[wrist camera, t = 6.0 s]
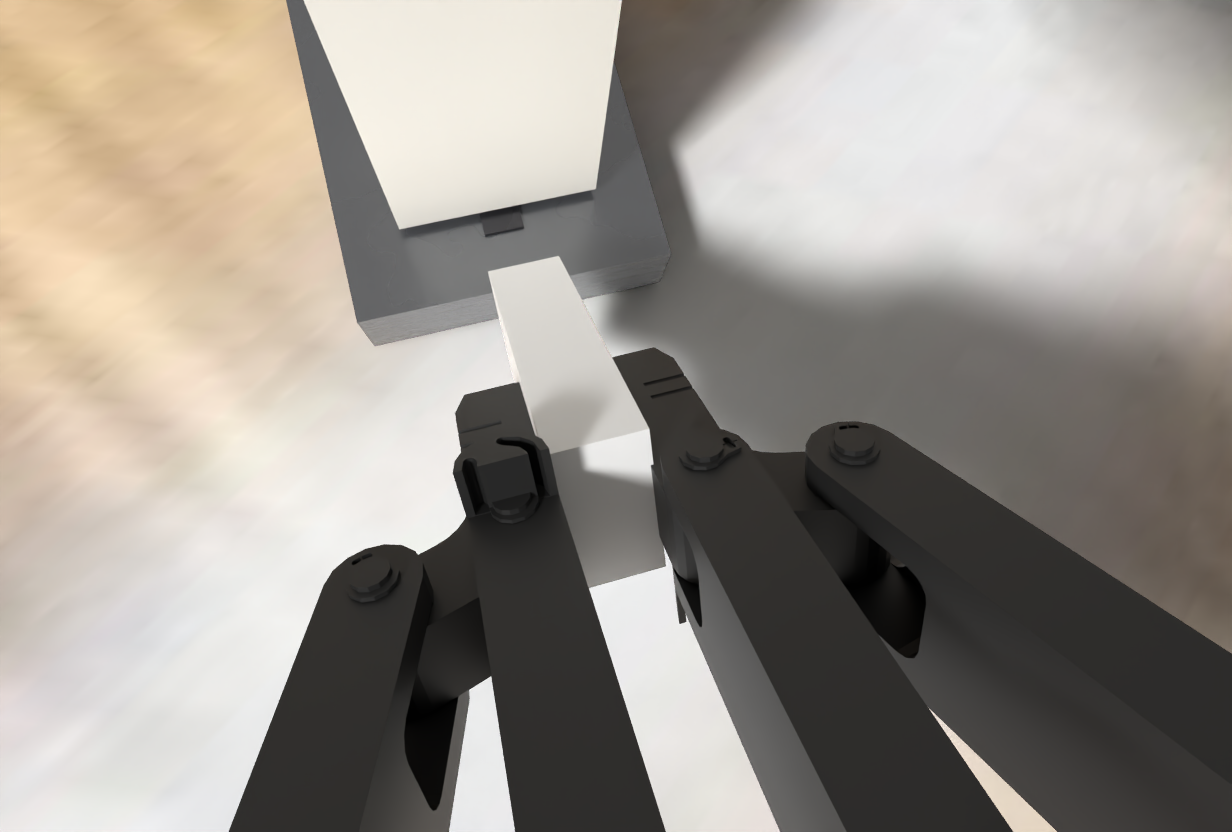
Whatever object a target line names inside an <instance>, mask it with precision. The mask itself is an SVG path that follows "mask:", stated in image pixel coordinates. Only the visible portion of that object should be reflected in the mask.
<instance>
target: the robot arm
mask: <svg viewBox="0 0 1232 832" xmlns="http://www.w3.org/2000/svg"><path fill="white" fill-rule="evenodd" d="M488 274H489V278H490V283H491V287H492V291H493V295H494V300H495V304H496V308H497V312H498V317H499V321H500V325H501V329H502V334H503V338H504V342H505V347H506V351H507V355H508V359H509V364H510V368H511V372H512V376H513V381H514V383H512V384H508V385H504V386H500V387H495V388H491V389H487V390H483V391H479V392H475V393H470V394H466V395H464V397H463V399H462V401H461V403H460V405H459V407H458V409H457V411H456V413H455V415H456V422H457V428H458V433H459V441H460V446H461V454H460V455H459V456H458V458H457V459H456V460H455V463H454V469H453V475H454V478H455V481H456V484H457V488H458V491H459V494H460V497H461V500H462V504H463V507H464V510H465V513H466V518H465V520H464V521H463V523H462V524H461V525H460V527H459V528H458V529H457V530H456V531H455V532H454V533H453V534H452V535H451V536H450V537H448V538H447V539H446V540H444V541H442V542H441V543H439V544H438V545H436V546H434V547H432V548H431V549H429V550H427V551H425V552H423V553H421V554H419V555H418V554H417V553H416V552H415V551H414V550H411V549H409V548H407V547H405V546H402V545H385V544H384V545H380V546H376V547H372V548H368V549H365V550H363V551H361V552H359V553H357V554H355V555H353V556H351V557H349V558H347V559H346V560H345V561H344V562H343V563H341V564H340V565H339V566H338V567H337V568H336V569H334V570H333V571H332V573H331V575H330V576H329V578H328V579H327V581H326V583H325V584H324V586H323V589H322V591H321V594H320V596H319V599H318V602H317V604H316V607H315V609H314V612H313V614H312V617H311V620H310V622H309V625H308V627H307V630H306V633H305V635H304V638H303V640H302V643H301V646H300V648H299V651H298V653H297V656H296V659H295V661H294V664H293V666H292V669H291V672H290V674H289V677H288V679H287V682H286V685H285V687H284V690H283V692H282V695H281V697H280V700H279V703H278V705H277V708H276V710H275V713H274V716H273V718H272V721H271V723H270V726H269V729H268V731H267V734H266V736H265V739H264V742H263V744H262V747H261V749H260V752H259V755H258V757H257V760H256V762H255V765H254V767H253V770H252V773H251V775H250V778H249V780H248V783H247V786H246V788H245V791H244V793H243V796H242V799H241V801H240V804H239V806H238V809H237V812H236V814H235V817H234V819H233V822H232V825H231V827H230V830H229V832H449V827H450V820H451V814H452V808H453V801H454V795H455V788H456V782H457V776H458V769H459V763H460V756H461V750H462V744H463V737H464V731H465V724H466V718H467V712H468V705H469V699H470V698H469V689H471V688H473V687H474V686H476V685H477V684H479V683H481V682H482V681H484V680H485V679H487V678H489V677H490V676H491V677H492V683H493V690H494V696H495V703H496V709H497V716H498V722H499V729H500V735H501V742H502V748H503V755H504V761H505V768H506V774H507V781H508V787H509V794H510V800H511V807H512V813H513V820H514V826H515V832H666V831H665V828H664V825H663V822H662V818H661V815H660V812H659V809H658V806H657V803H656V799H655V796H654V793H653V790H652V787H651V784H650V780H649V777H648V774H647V771H646V768H645V765H644V761H643V758H642V755H641V752H640V749H639V746H638V743H637V739H636V736H635V733H634V730H633V727H632V724H631V720H630V717H629V714H628V711H627V708H626V705H625V701H624V698H623V695H622V692H621V689H620V686H619V682H618V679H617V676H616V673H615V670H614V667H613V663H612V660H611V657H610V654H609V651H608V648H607V645H606V641H605V638H604V635H603V632H602V629H601V626H600V622H599V619H598V616H597V613H596V610H595V607H594V603H593V600H592V597H591V594H590V591H589V588H590V587H594V586H597V585H601V584H605V583H608V582H612V581H615V580H619V579H622V578H626V577H629V576H633V575H637V574H640V573H644V572H647V571H651V570H654V569H658V568H661V567H665V566H666V564H665V556H664V548H665V550H666V552H667V554H668V556H669V559H670V561H671V563H672V566H673V575H674V584H675V593H676V602H677V611H678V617H679V624H681V623H684V622H686V615H687V618H688V620H689V622H690V625H691V627H692V629H693V632H694V634H695V636H696V639H697V641H698V643H699V645H700V648H701V650H702V652H703V655H704V657H705V659H706V662H707V664H708V666H709V668H710V671H711V673H712V675H713V678H714V680H715V682H716V685H717V687H718V689H719V692H720V694H721V696H722V698H723V701H724V703H725V705H726V708H727V710H728V712H729V715H730V717H731V719H732V722H733V724H734V726H735V728H736V731H737V733H738V735H739V738H740V740H741V742H742V745H743V747H744V749H745V751H746V754H747V756H748V758H749V761H750V763H751V765H752V768H753V770H754V772H755V775H756V777H757V779H758V781H759V784H760V786H761V788H762V791H763V793H764V795H765V798H766V800H767V802H768V804H769V807H770V809H771V811H772V814H773V816H774V818H775V821H776V823H777V825H778V828H779V830H780V832H1013V831H1012V829H1011V828H1010V827H1009V825H1008V824H1007V822H1006V821H1005V819H1004V818H1003V816H1002V815H1001V813H1000V812H999V810H998V809H997V808H996V806H995V805H994V803H993V802H992V800H991V799H990V797H989V796H988V794H987V793H986V791H985V790H984V789H983V787H982V786H981V784H980V783H979V781H978V780H977V778H976V777H975V775H974V774H973V773H972V771H971V770H970V768H969V767H968V765H967V764H966V762H965V761H964V759H963V758H962V756H961V755H960V754H959V752H958V751H957V749H956V748H955V746H954V745H953V743H952V742H951V740H950V739H949V737H948V736H947V735H946V733H945V732H944V730H943V729H942V727H941V726H940V724H939V723H938V721H937V720H936V718H935V717H934V716H933V714H932V713H931V711H930V710H929V708H930V709H931V710H932V711H933V712H934V713H935V714H936V715H937V716H938V717H939V718H940V719H941V720H942V721H943V722H944V723H945V724H946V725H947V726H948V727H949V728H950V729H951V730H952V731H953V732H955V733H956V734H957V735H958V736H959V737H960V738H961V739H962V740H963V741H964V742H965V743H966V744H967V745H968V746H969V747H970V748H971V749H972V750H973V751H974V752H975V753H976V754H977V755H978V756H979V757H980V758H982V759H983V760H984V761H985V762H986V763H987V764H988V765H989V766H990V767H991V768H992V769H993V770H994V771H995V772H996V773H997V774H998V775H999V776H1000V777H1001V778H1002V779H1003V780H1004V781H1005V782H1006V783H1007V784H1009V785H1010V786H1011V787H1012V788H1013V789H1014V790H1015V791H1016V792H1017V793H1018V794H1019V795H1020V796H1021V797H1022V798H1023V799H1024V800H1025V801H1026V802H1027V803H1028V804H1029V805H1030V806H1031V807H1032V808H1033V809H1034V810H1036V811H1037V812H1038V813H1039V814H1040V815H1041V816H1042V817H1043V818H1044V819H1045V820H1046V821H1047V822H1048V823H1049V824H1050V825H1051V826H1052V827H1053V828H1054V829H1055V830H1056V831H1057V832H1232V654H1231V653H1230V652H1228V651H1226V650H1225V649H1223V648H1222V647H1220V646H1219V645H1217V644H1216V643H1214V642H1213V641H1211V640H1209V639H1208V638H1206V637H1205V636H1203V635H1202V634H1200V633H1199V632H1197V631H1196V630H1194V629H1192V628H1191V627H1189V626H1188V625H1186V624H1185V623H1183V622H1182V621H1180V620H1179V619H1177V618H1176V617H1174V616H1172V615H1171V614H1169V613H1168V612H1166V611H1165V610H1163V609H1162V608H1160V607H1159V606H1157V605H1155V604H1154V603H1152V602H1151V601H1149V600H1148V599H1146V598H1145V597H1143V596H1142V595H1140V594H1139V593H1137V592H1135V591H1134V590H1132V589H1131V588H1129V587H1128V586H1126V585H1125V584H1123V583H1122V582H1120V581H1118V580H1117V579H1115V578H1114V577H1112V576H1111V575H1109V574H1108V573H1106V572H1105V571H1103V570H1102V569H1100V568H1098V567H1097V566H1095V565H1094V564H1092V563H1091V562H1089V561H1088V560H1086V559H1085V558H1083V557H1081V556H1080V555H1078V554H1077V553H1075V552H1074V551H1072V550H1071V549H1069V548H1068V547H1066V546H1065V545H1063V544H1061V543H1060V542H1058V541H1057V540H1055V539H1054V538H1052V537H1051V536H1049V535H1048V534H1046V533H1044V532H1043V531H1041V530H1040V529H1038V528H1037V527H1035V526H1034V525H1032V524H1031V523H1029V522H1027V521H1026V520H1024V519H1023V518H1021V517H1020V516H1018V515H1017V514H1015V513H1014V512H1012V511H1011V510H1009V509H1007V508H1006V507H1004V506H1003V505H1001V504H1000V503H998V502H997V501H995V500H994V499H992V498H990V497H989V496H987V495H986V494H984V493H983V492H981V491H980V490H978V489H977V488H975V487H974V486H972V485H970V484H969V483H967V482H966V481H964V480H963V479H961V478H960V477H958V476H957V475H955V474H953V473H952V472H950V471H949V470H947V469H946V468H944V467H943V466H941V465H940V464H938V463H937V462H935V461H933V460H932V459H930V458H929V457H927V456H926V455H924V454H923V453H921V452H920V451H918V450H916V449H915V448H913V447H912V446H910V445H909V444H907V443H906V442H904V441H903V440H901V439H899V438H898V437H896V436H895V435H893V434H892V433H890V432H889V431H886V430H884V429H882V428H880V427H878V426H875V425H872V424H867V423H862V422H856V421H855V422H837V423H833V424H830V425H827V426H823V427H821V428H820V429H818V430H817V431H816V432H814V433H813V434H811V436H810V438H809V440H808V442H807V444H806V452H787V453H767V452H759V451H753V450H751V448H750V447H749V445H748V444H747V443H746V442H745V441H744V440H742V439H741V438H740V437H739V436H738V435H736V434H733V433H731V432H728V431H725V430H721V429H720V428H719V427H718V425H717V424H716V422H715V421H714V419H713V418H712V416H711V414H710V413H709V411H708V410H707V408H706V407H705V405H704V404H703V402H702V401H701V399H700V398H699V396H698V395H697V393H696V392H695V390H694V389H692V386H691V384H690V383H689V381H688V380H687V378H686V376H685V377H684V374H683V372H682V370H681V369H680V367H679V366H678V364H677V363H676V361H675V360H674V358H672V357H670V356H669V355H667V354H665V353H663V352H661V351H659V350H658V349H656V348H650V349H645V350H641V351H637V352H633V353H629V354H625V355H620V356H616V357H612V356H611V355H610V353H609V351H608V349H607V347H606V345H605V343H604V341H603V339H602V337H601V335H600V333H599V332H598V330H597V328H596V326H595V324H594V322H593V320H592V318H591V316H590V314H589V312H588V311H587V309H586V307H585V305H584V303H583V301H582V299H581V297H580V295H579V293H578V291H577V290H576V288H575V286H574V284H573V282H572V280H571V278H570V276H569V274H568V272H567V270H566V268H565V267H564V265H563V263H562V261H561V259H560V257H559V256H556V257H551V258H547V259H542V260H538V261H533V262H528V263H524V264H519V265H515V266H510V267H506V268H501V269H496V270H492V271H488ZM663 545H664V547H663ZM685 613H686V615H685ZM927 706H928V707H929V708H928V707H927Z"/></svg>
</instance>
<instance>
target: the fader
mask: <svg viewBox="0 0 1232 832" xmlns="http://www.w3.org/2000/svg"><path fill="white" fill-rule="evenodd" d="M304 3H305V5H306V7H307V10H308V12H309V15H310V17H311V19H312V22H313V24H314V27H315V29H316V31H317V34H318V36H319V39H320V41H321V43H322V46H323V48H324V50H325V53H326V55H327V58H328V60H329V62H330V65H331V67H332V70H333V72H334V74H335V77H336V79H337V82H338V84H339V86H340V89H341V91H342V94H343V96H344V98H345V101H346V103H347V106H348V108H349V110H350V113H351V115H352V117H353V120H354V122H355V125H356V127H357V129H358V132H359V134H360V137H361V139H362V141H363V144H364V146H365V149H366V151H367V153H368V156H369V158H370V161H371V163H372V165H373V168H374V170H375V173H376V175H377V177H378V180H379V182H380V184H381V187H382V189H383V192H384V194H385V196H386V199H387V201H388V204H389V206H390V208H391V211H392V213H393V216H394V218H395V220H396V223H397V225H398V228H399V229H404V228H409V227H414V226H419V225H423V224H428V223H433V222H438V221H443V220H448V219H453V218H457V217H462V216H467V215H472V214H477V213H482V212H487V211H492V210H496V209H501V208H506V207H511V206H516V205H521V204H526V203H530V202H535V201H540V200H545V199H550V198H555V197H560V196H564V195H569V194H574V193H579V192H584V191H589V190H594V189H596V184H597V176H598V169H599V162H600V155H601V148H602V140H603V133H604V126H605V119H606V112H607V104H608V97H609V90H610V83H611V76H612V68H613V61H614V54H615V47H616V39H617V32H618V25H619V18H620V11H621V3H622V0H304Z"/></svg>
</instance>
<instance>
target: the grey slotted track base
mask: <svg viewBox="0 0 1232 832" xmlns="http://www.w3.org/2000/svg"><path fill="white" fill-rule="evenodd" d="M286 2H287V6H288V11H289V15H290V20H291V24H292V29H293V33H294V38H295V42H296V47H297V51H298V56H299V61H300V65H301V70H302V74H303V79H304V83H305V88H306V92H307V97H308V101H309V106H310V110H311V115H312V119H313V124H314V129H315V133H316V138H317V142H318V147H319V151H320V156H321V160H322V165H323V169H324V174H325V178H326V183H327V188H328V192H329V197H330V201H331V206H332V210H333V215H334V219H335V224H336V228H337V233H338V237H339V242H340V246H341V251H342V256H343V260H344V265H345V269H346V274H347V278H348V283H349V287H350V292H351V296H352V301H353V305H354V310H355V315H356V319H357V323H358V324H359V326H360V327H361V328H362V330H363V331H364V332H365V334H366V335H367V336H368V338H369V339H370V341H371V342H372V343H373V345H374V346H378V345H383V344H387V343H391V342H396V341H400V340H405V339H409V338H414V337H418V336H422V335H427V334H431V333H436V332H440V331H445V330H449V329H453V328H458V327H462V326H467V325H471V324H476V323H480V322H484V321H489V320H493V319H498V318H499V317H498V312H497V308H496V304H495V300H494V295H493V291H492V287H491V283H490V278H489V274H488V271H492V270H496V269H501V268H506V267H510V266H515V265H519V264H524V263H528V262H533V261H538V260H542V259H547V258H551V257H556V256H559V257H560V259H561V261H562V263H563V265H564V267H565V268H566V270H567V272H568V274H569V276H570V278H571V280H572V282H573V284H574V286H575V288H576V290H577V291H578V293H579V295H580V297H581V299H586V298H591V297H595V296H600V295H604V294H608V293H613V292H617V291H622V290H626V289H631V288H635V287H639V286H644V285H648V284H653V283H657V282H660V280H661V278H662V275H663V273H664V270H665V268H666V265H667V263H668V260H669V258H670V255H671V251H670V247H669V244H668V240H667V237H666V234H665V230H664V227H663V224H662V220H661V217H660V214H659V210H658V207H657V204H656V200H655V197H654V194H653V190H652V187H651V183H650V180H649V177H648V173H647V170H646V167H645V163H644V160H643V157H642V153H641V150H640V147H639V143H638V140H637V136H636V133H635V130H634V126H633V123H632V120H631V116H630V113H629V110H628V106H627V103H626V100H625V96H624V93H623V90H622V86H621V83H620V79H619V76H618V73H617V69H616V66H615V63H614V61H613V68H612V76H611V83H610V90H609V97H608V104H607V112H606V119H605V126H604V133H603V140H602V148H601V155H600V162H599V169H598V176H597V184H596V189H594V190H589V191H584V192H579V193H574V194H569V195H564V196H560V197H555V198H550V199H545V200H540V201H535V202H530V203H526V204H521V205H516V206H511V207H506V208H501V209H496V210H492V211H487V212H482V213H477V214H472V215H467V216H462V217H457V218H453V219H448V220H443V221H438V222H433V223H428V224H423V225H419V226H414V227H409V228H404V229H399V228H398V225H397V223H396V220H395V218H394V216H393V213H392V211H391V208H390V206H389V204H388V201H387V199H386V196H385V194H384V192H383V189H382V187H381V184H380V182H379V180H378V177H377V175H376V173H375V170H374V168H373V165H372V163H371V161H370V158H369V156H368V153H367V151H366V149H365V146H364V144H363V141H362V139H361V137H360V134H359V132H358V129H357V127H356V125H355V122H354V120H353V117H352V115H351V113H350V110H349V108H348V106H347V103H346V101H345V98H344V96H343V94H342V91H341V89H340V86H339V84H338V82H337V79H336V77H335V74H334V72H333V70H332V67H331V65H330V62H329V60H328V58H327V55H326V53H325V50H324V48H323V46H322V43H321V41H320V39H319V36H318V34H317V31H316V29H315V27H314V24H313V22H312V19H311V17H310V15H309V12H308V10H307V7H306V5H305V3H304V0H286Z"/></svg>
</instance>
